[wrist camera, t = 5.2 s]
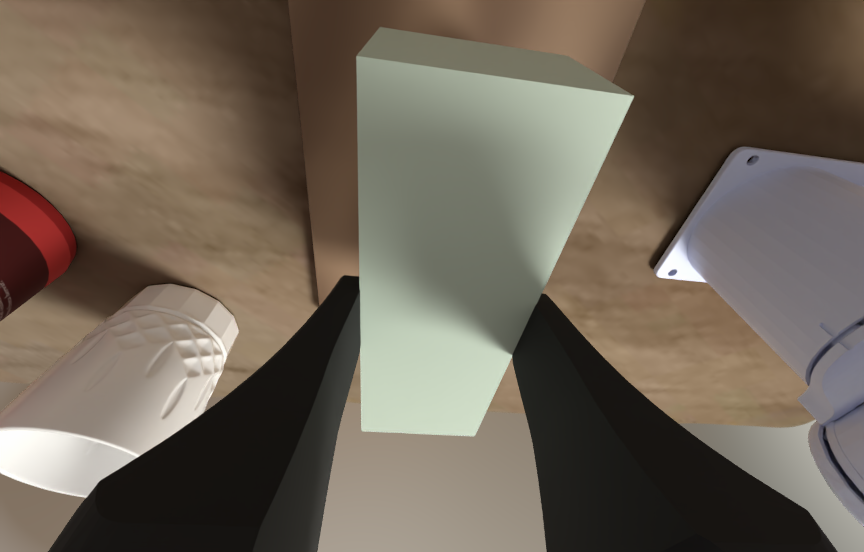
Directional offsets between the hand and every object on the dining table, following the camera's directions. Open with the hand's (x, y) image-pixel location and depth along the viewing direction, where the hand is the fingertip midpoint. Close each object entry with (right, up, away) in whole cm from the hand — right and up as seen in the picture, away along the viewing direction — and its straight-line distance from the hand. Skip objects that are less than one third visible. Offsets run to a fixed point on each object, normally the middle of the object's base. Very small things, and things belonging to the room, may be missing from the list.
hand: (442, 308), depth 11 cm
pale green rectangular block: (0, +2, +3) cm, 3 cm away
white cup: (-17, -2, +13) cm, 22 cm away
